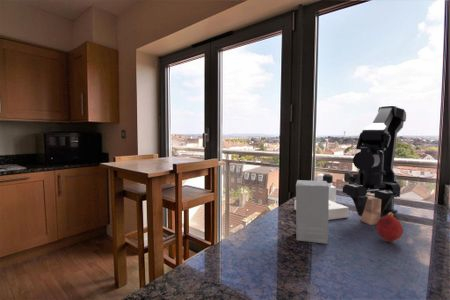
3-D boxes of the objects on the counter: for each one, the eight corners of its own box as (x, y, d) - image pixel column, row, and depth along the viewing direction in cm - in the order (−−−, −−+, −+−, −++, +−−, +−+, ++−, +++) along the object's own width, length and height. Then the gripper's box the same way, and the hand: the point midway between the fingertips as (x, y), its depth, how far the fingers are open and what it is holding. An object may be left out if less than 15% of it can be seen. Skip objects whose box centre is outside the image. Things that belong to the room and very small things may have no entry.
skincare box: (326, 235, 67) (328, 180, 66) (328, 246, 60) (330, 185, 59) (295, 231, 70) (296, 178, 69) (294, 241, 63) (295, 182, 62)
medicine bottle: (329, 199, 105) (330, 173, 104) (335, 204, 97) (336, 175, 97) (313, 199, 105) (314, 172, 104) (317, 203, 98) (318, 175, 97)
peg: (369, 219, 80) (370, 196, 80) (380, 223, 77) (381, 199, 76) (360, 220, 79) (361, 197, 79) (370, 224, 75) (371, 200, 75)
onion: (394, 248, 59) (396, 217, 59) (371, 239, 64) (372, 211, 64) (406, 244, 62) (408, 214, 62) (383, 235, 67) (384, 208, 67)
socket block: (322, 206, 94) (322, 197, 94) (348, 217, 82) (348, 207, 82) (294, 209, 91) (294, 200, 90) (316, 221, 78) (317, 210, 78)
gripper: (372, 163, 87) (370, 205, 88) (331, 165, 82) (329, 209, 83) (403, 167, 77) (400, 214, 78) (358, 169, 71) (355, 220, 72)
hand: (370, 214), depth 78 cm, fingers open, 8 cm apart
